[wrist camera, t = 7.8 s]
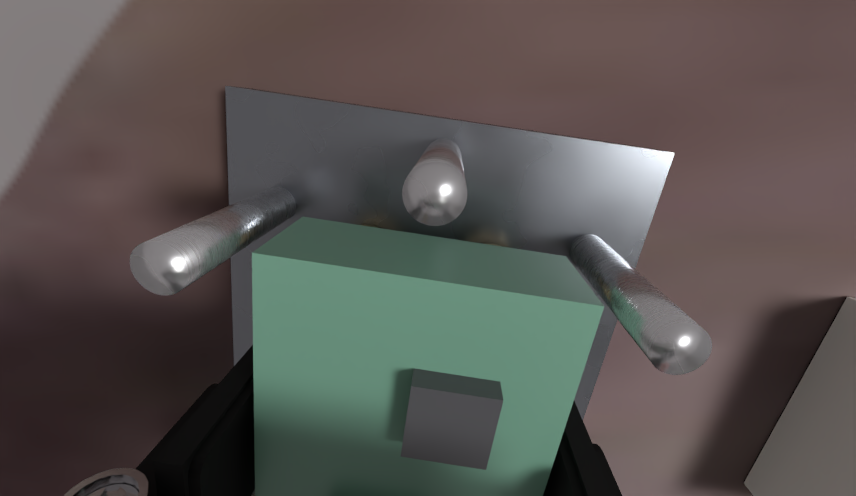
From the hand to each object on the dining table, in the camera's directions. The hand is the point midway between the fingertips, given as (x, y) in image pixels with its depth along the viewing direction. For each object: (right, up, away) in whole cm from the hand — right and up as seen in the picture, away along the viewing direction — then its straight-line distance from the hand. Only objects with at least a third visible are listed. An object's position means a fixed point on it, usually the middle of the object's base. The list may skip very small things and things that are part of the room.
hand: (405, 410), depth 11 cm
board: (0, 0, 0) cm, 0 cm away
